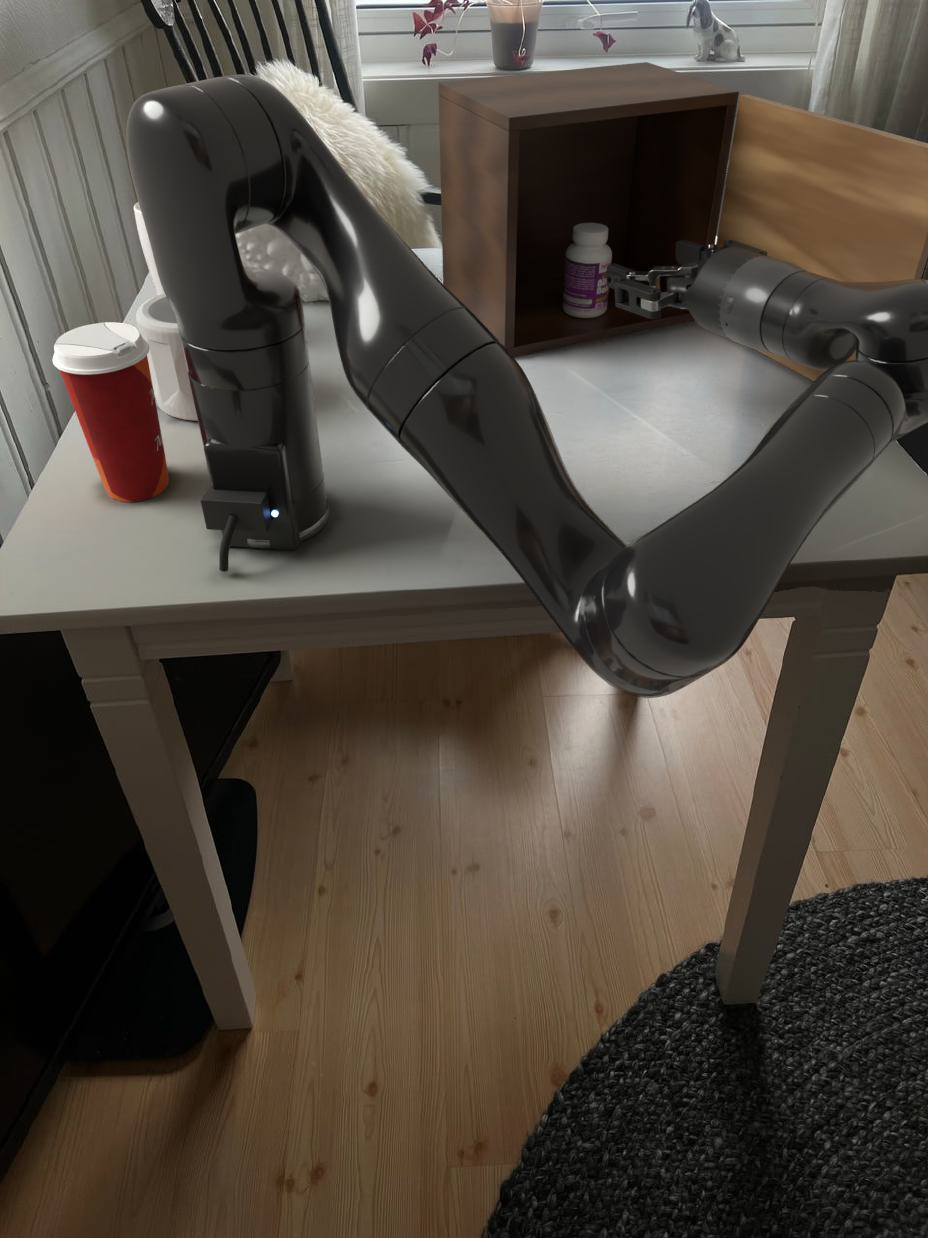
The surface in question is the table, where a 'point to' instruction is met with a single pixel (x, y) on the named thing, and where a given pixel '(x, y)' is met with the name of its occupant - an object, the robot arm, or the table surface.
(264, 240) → the cauliflower
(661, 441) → the table surface
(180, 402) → the mug
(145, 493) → the paper cup
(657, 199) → the cabinet
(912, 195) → the cabinet door
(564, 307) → the pill bottle
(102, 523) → the table surface
